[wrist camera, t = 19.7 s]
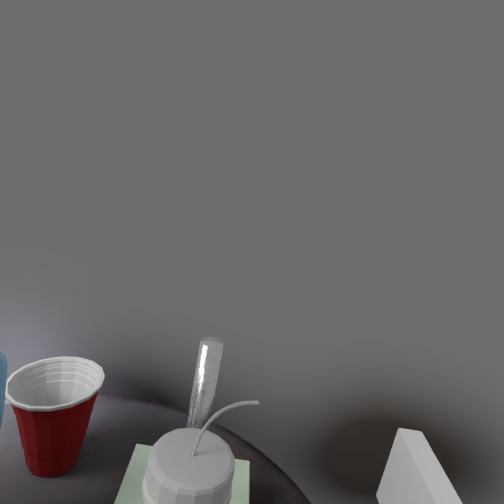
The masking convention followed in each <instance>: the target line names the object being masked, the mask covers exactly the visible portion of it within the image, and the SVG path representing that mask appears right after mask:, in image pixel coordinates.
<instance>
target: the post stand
mask: <svg viewBox="0 0 504 504" xmlns="http://www.w3.org/2000/svg"><path fill="white" fill-rule="evenodd" d="M223 346H224V343H223V341H222V340H220V339H218V338H215V337H205V338H202V339H201V342H200V348H199V354H198V360H197V366H196V372H195V378H194V384H193V390H192V396H191V402H190V408H189V414H188V419H187V425H186V428H197V429H203V427H204V426H205V424H206V423H207V421H208V420H209V419H210V416H211V410H212V405H213V399H214V394H215V389H216V384H217V378H218V372H219V367H220V362H221V357H222V351H223ZM208 427H209V426H208ZM208 427H207V429H206V430H207V431H208Z"/></svg>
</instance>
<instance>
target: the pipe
mask: <svg viewBox="0 0 504 504" xmlns="http://www.w3.org/2000/svg"><path fill="white" fill-rule="evenodd" d="M251 404H260V401H243V402H239V403H234V404H232V405H229V406H226V407H225V408H223V409H221V410H219V411H218V412H217V413H216V414H214V415H213V416H212V417H211V418H210V419H209V420H208V421H207V423H206V424H205V426H204V427H203V429H197V428H182V429H176V430H173V431H171V432H169V433H166V434H164V435H163V436H162V437H161V438H160V439H159V440H158V441H157V442H156V443H155V444H154V445H153V447H152V450H151V453H150V456H149V459H148V466H147V470H146V473H145V476H144V479H143V483H142V494H143V500H144V504H229V503H230V500H231V493H232V480H233V476H234V466H235V459H234V456H233V454H232V451H231V449H230V447H229V445H228V444H227V443H226V442H225V441H224V440H223V439H222V438H220V437H219V436H218V435H216V434H214V433H211V432H209V431H207V430H206V429H207V427H208V426H209V425H210V423H211V422H212V421H213V420H214V419H215V418H216V417H218V416H219V415H220V414H222V413H223V412H225V411H227V410H229V409H232V408H234V407H238V406H243V405H251Z"/></svg>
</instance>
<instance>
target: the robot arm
mask: <svg viewBox="0 0 504 504" xmlns="http://www.w3.org/2000/svg"><path fill="white" fill-rule="evenodd" d="M6 379H7V360H6V356H4V355H3V354H2V353H1V352H0V427H1V423H2V417H3V409H4V401H5V391H6ZM376 496H377V499H378V502H379V504H462V502H461V500H460V498H459V497H458V495H457V493H456V491H455V490H454V488H453V486H452V484H451V483H450V481H449V479H448V477H447V476H446V474H445V472H444V470H443V468H442V467H441V465H440V463H439V461H438V460H437V458H436V456H435V455H434V453H433V451H432V449H431V447H430V446H429V444H428V442H427V440H426V439H425V437H424V435H423V433H422V432H421V431H415V430H409V429H402V428H399V429H398V431H397V434H396V438H395V440H394V444H393V446H392V449H391V452H390V456H389V458H388V462H387V464H386V468H385V470H384V474H383V477H382V479H381V483H380V485H379V488H378V491H377V495H376Z"/></svg>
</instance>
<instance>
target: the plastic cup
mask: <svg viewBox="0 0 504 504" xmlns="http://www.w3.org/2000/svg"><path fill="white" fill-rule="evenodd" d="M104 378H105V375H104V372H103V369H102V367H100V366H99V365H98V364H96V363H95V362H94V361H91V360H87V359H84V358H80V357H55V358H49V359H43V360H40V361H37V362H34V363H31V364H28V365H26V366H24V367H22V368H21V369H19V370H17V371H16V372H14V373H13V374H12V375H11V376H10V377H9V379H8V380H7V381H6V391H5V397H6V399H7V400H8V401H9V402H10V403H11V406H12V407H13V410H14V413H15V414H16V419H17V424H18V428H19V433H20V438H21V443H22V448H23V449H24V453H25V459H26V464H27V466H28V469H29V470H30V471H31V472H32V474H35V475H37V476H39V477H54V476H58V475H61V474H63V473H65V472H67V471H69V470H70V469H71V467H72V466H73V465H74V464H75V462H76V460H77V458H78V455H79V453H80V449H81V446H82V442H83V440H84V437H85V434H86V431H87V427H88V423H89V420H90V416H91V412H92V409H93V405H94V402H95V400H96V397H97V393H98V391H99V390H100V388H101V385H102V383H103V380H104Z"/></svg>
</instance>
